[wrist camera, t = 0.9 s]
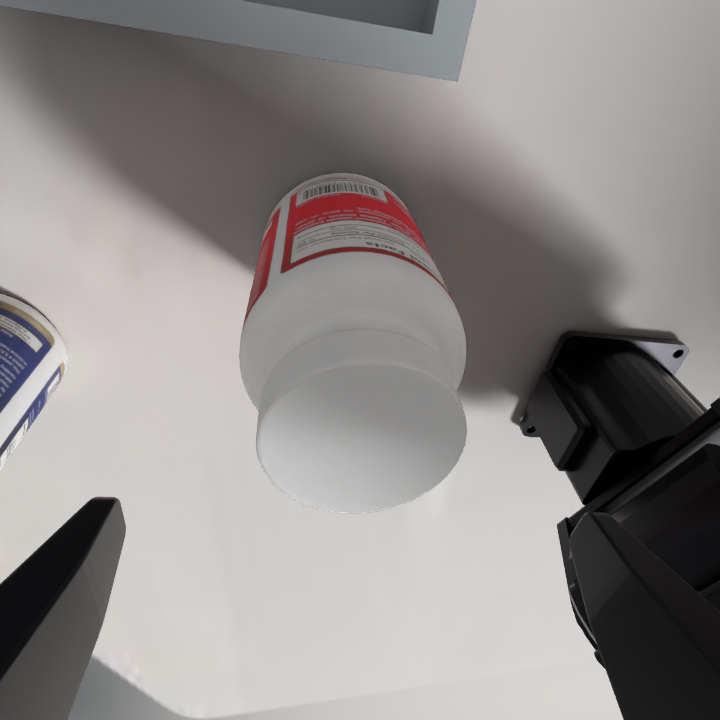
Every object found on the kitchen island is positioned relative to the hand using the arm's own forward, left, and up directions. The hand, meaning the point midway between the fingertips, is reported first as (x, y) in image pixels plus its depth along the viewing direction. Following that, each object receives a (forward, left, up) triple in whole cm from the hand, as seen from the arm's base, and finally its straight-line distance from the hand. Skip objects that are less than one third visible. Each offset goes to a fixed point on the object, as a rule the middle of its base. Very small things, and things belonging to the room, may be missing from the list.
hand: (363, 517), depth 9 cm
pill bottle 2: (0, 0, -13) cm, 13 cm away
